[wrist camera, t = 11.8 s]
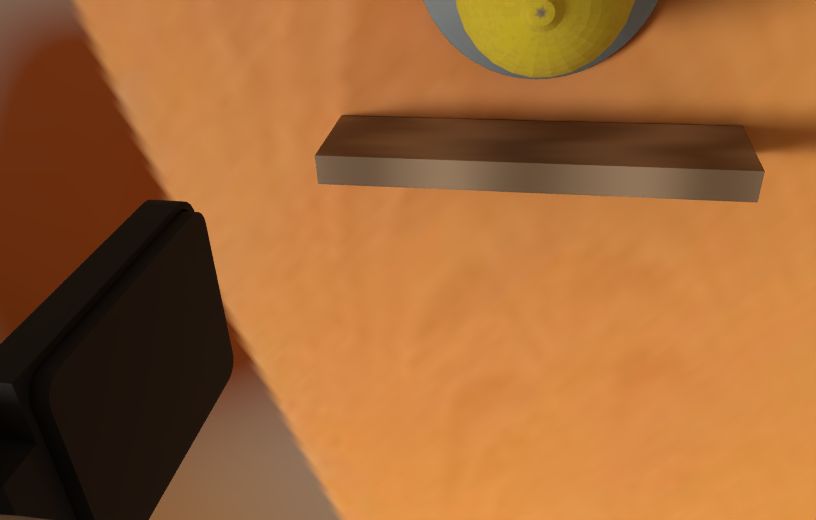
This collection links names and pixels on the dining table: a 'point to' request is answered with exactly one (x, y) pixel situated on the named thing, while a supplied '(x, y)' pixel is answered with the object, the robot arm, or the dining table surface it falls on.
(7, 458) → the robot arm
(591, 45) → the lemon
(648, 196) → the walnut wall
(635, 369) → the dining table surface
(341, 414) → the dining table surface
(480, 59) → the coaster
